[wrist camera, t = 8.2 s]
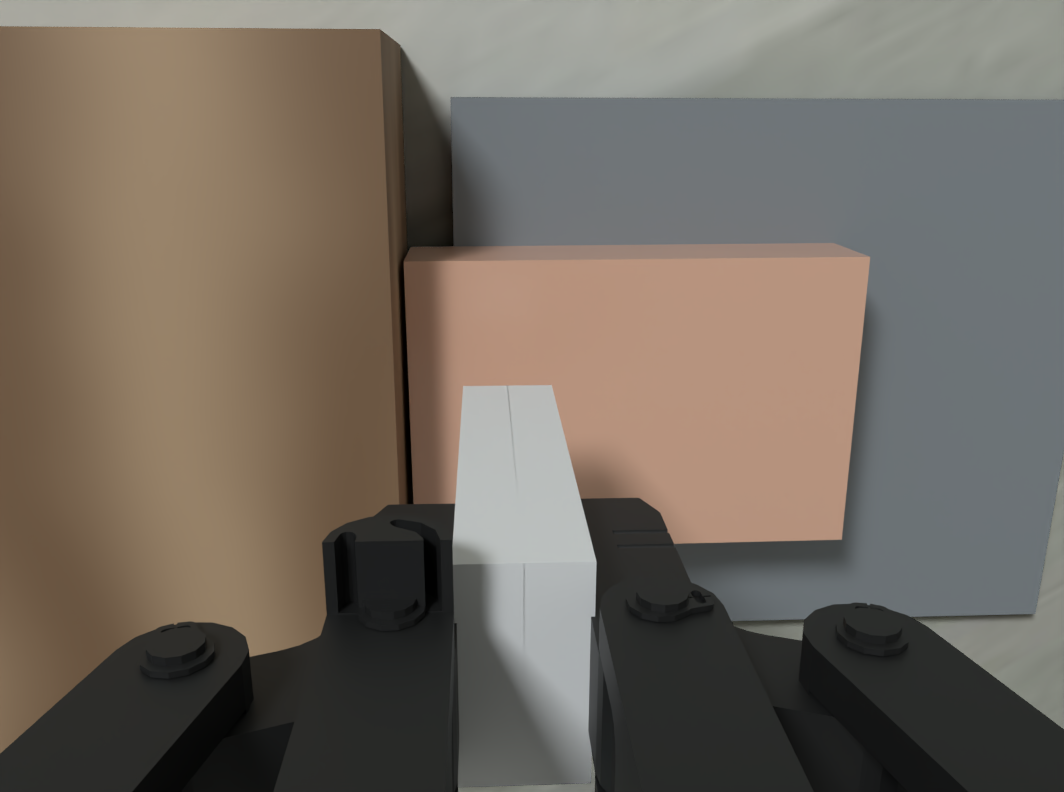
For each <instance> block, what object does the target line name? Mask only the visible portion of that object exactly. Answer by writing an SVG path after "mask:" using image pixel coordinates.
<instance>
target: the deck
mask: <svg viewBox="0 0 1064 792" xmlns="http://www.w3.org/2000/svg"><path fill="white" fill-rule="evenodd" d="M407 254H408V252H407V224H406V195H405V166H404V137H403V108H402V79H401V50H400V45H399V44H398V43H397V42H396V41H394V40H393V39H392V38H390V37H389V36H388V35H387V34H385V33H384V32H383V31H381V30H380V29H267V28H136V27H4V26H0V753H1V752H3V751H4V750H5V749H6V748H7V747H8V746H9V745H10V744H11V743H13V742H14V741H15V740H16V739H17V738H18V737H19V736H20V735H21V734H23V733H24V732H25V731H26V730H27V729H28V728H29V727H30V726H32V725H33V724H34V723H35V722H36V721H37V720H38V719H39V718H40V717H42V716H43V715H44V714H45V713H46V712H47V711H48V710H49V709H51V708H52V707H53V706H54V705H55V704H56V703H57V702H58V701H59V700H61V699H62V698H63V697H64V696H65V695H66V694H67V693H68V692H70V691H71V690H72V689H73V688H74V687H75V686H76V685H77V684H78V683H80V682H81V681H82V680H83V679H84V678H85V677H86V676H87V675H88V674H90V673H91V672H92V671H93V670H94V669H95V668H96V667H97V666H99V665H100V664H101V663H102V662H103V661H104V660H105V659H106V658H107V657H109V656H110V655H111V654H112V653H113V652H114V651H115V650H117V649H118V648H120V647H121V646H123V645H124V644H126V643H127V642H129V641H130V640H132V639H133V638H135V637H137V636H139V635H142V634H145V633H147V632H150V631H153V630H155V629H157V628H158V627H161V626H165V625H169V624H173V623H174V625H176V624H177V623H179V622H188V621H192V622H213V623H217V624H221V625H225V626H229V627H233V628H234V629H236V630H237V631H238V632H240V633H241V634H243V635H244V636H245V637H246V640H247V644H248V648H249V655H250V657H251V656H256V655H261V654H266V653H271V652H276V651H280V650H284V649H288V648H291V647H295V646H299V645H301V644H303V643H306V642H308V641H311V640H313V639H315V638H317V637H319V636H320V635H321V632H322V629H323V625H324V622H325V619H326V615H327V612H326V597H325V582H324V567H323V552H322V542H323V540H324V539H325V538H326V537H327V535H328V534H329V533H330V532H331V531H333V530H335V529H337V528H338V527H340V526H342V525H344V524H346V523H348V522H352V521H356V520H360V519H363V518H367V517H373V516H375V515H376V514H377V513H378V512H380V511H381V510H382V509H383V508H384V507H386V506H387V505H395V504H414V502H413V477H412V453H411V429H410V405H409V381H408V356H407V332H406V308H405V284H404V260H405V258H406V256H407Z"/></svg>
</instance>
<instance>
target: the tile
mask: <svg viewBox="0 0 1064 792" xmlns="http://www.w3.org/2000/svg"><path fill="white" fill-rule="evenodd" d="M869 265H870V257H869V256H867V255H864V254H861V253H859V252H856V251H853V250H851V249H848V248H846V247H843V246H840V245H838V244H835V243H778V244H668V245H558V246H448V247H411V248H410V250H409V252H408V254H407V256H406V258H405V260H404V284H405V308H406V332H407V356H408V381H409V405H410V429H411V453H412V477H413V502H414V504H454V503H455V500H456V485H457V470H458V455H459V440H460V425H461V410H462V395H463V386H513V385H552V388H553V392H554V396H555V400H556V404H557V408H558V412H559V416H560V420H561V424H562V428H563V432H564V435H565V439H566V443H567V447H568V451H569V455H570V459H571V463H572V467H573V471H574V475H575V479H576V483H577V487H578V491H579V495H580V498H581V499H587V498H640V499H642V500H643V501H644V502H646V503H647V504H649V505H650V506H652V507H653V508H655V509H656V510H657V511H659V512H660V513H661V516H662V518H663V520H664V522H665V525H666V527H667V529H668V533H669V534H670V536H671V538H672V540H673V543H674V544H683V543H725V542H766V541H807V540H842V532H843V522H844V512H845V502H846V492H847V482H848V473H849V463H850V453H851V443H852V433H853V423H854V413H855V403H856V393H857V383H858V374H859V364H860V354H861V344H862V334H863V324H864V314H865V304H866V294H867V284H868V275H869Z"/></svg>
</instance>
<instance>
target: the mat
mask: <svg viewBox="0 0 1064 792" xmlns="http://www.w3.org/2000/svg"><path fill="white" fill-rule="evenodd" d="M451 140H452V189H453V238H454V246H558V245H668V244H778V243H835V244H838V245H840V246H843V247H846V248H848V249H851V250H853V251H856V252H859V253H861V254H864V255H867V256H869V257H870V265H869V275H868V284H867V294H866V304H865V314H864V324H863V334H862V344H861V354H860V364H859V374H858V383H857V393H856V403H855V413H854V423H853V433H852V443H851V453H850V463H849V473H848V482H847V492H846V502H845V512H844V522H843V532H842V540H807V541H766V542H725V543H683V544H674V547H676V549H677V552H678V554H679V556H680V559H681V561H682V563H683V565H684V568H685V570H686V572H687V574H688V577H689V579H690V581H691V583H694V584H697V585H699V586H701V587H702V588H704V589H706V590H708V591H710V592H712V593H714V595H715V596H716V597H717V598H718V599H719V600H720V601H721V602H722V604H723V605H724V607H725V609H726V611H727V613H728V615H729V617H730V619H731V621H753V620H796V619H806V618H807V617H808V616H809V615H810V614H811V613H812V612H813V611H814V610H817V609H820V608H823V607H826V606H830V605H833V604H851V603H855V602H857V603H867V605H870V604H875V605H880V606H884V607H886V608H888V609H890V610H893V611H896V612H899V613H902V614H905V615H908V616H909V617H924V616H966V615H1009V614H1035V612H1036V606H1037V601H1038V595H1039V589H1040V584H1041V578H1042V572H1043V566H1044V561H1045V555H1046V549H1047V544H1048V538H1049V532H1050V527H1051V521H1052V515H1053V509H1054V504H1055V498H1056V492H1057V487H1058V481H1059V475H1060V470H1061V464H1062V458H1063V453H1064V100H984V99H739V98H495V97H451Z"/></svg>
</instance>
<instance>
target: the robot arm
mask: <svg viewBox="0 0 1064 792" xmlns="http://www.w3.org/2000/svg"><path fill="white" fill-rule="evenodd" d="M322 552H323V567H324V582H325V597H326V612H327V615H326V619H325V622H324V625H323V629H322V632H321V635H320V636H319V637H317V638H315V639H313V640H311V641H308V642H306V643H303V644H301V645H299V646H295V647H291V648H288V649H284V650H280V651H276V652H271V653H266V654H261V655H256V656H251V657H250V655H249V648H248V644H247V640H246V637H245V636H244V635H243V634H241V633H240V632H238V631H237V630H236V629H234V628H233V627H229V626H225V625H221V624H217V623H213V622H192V621H188V622H179V623H177V624H176V625H174V623H173V624H169V625H165V626H161V627H158V628H157V629H155V630H153V631H150V632H147V633H145V634H142V635H139V636H137V637H135V638H133V639H132V640H130V641H129V642H127V643H126V644H124V645H123V646H121V647H120V648H118V649H117V650H115V651H114V652H113V653H112V654H111V655H110V656H109V657H107V658H106V659H105V660H104V661H103V662H102V663H101V664H100V665H99V666H97V667H96V668H95V669H94V670H93V671H92V672H91V673H90V674H88V675H87V676H86V677H85V678H84V679H83V680H82V681H81V682H80V683H78V684H77V685H76V686H75V687H74V688H73V689H72V690H71V691H70V692H68V693H67V694H66V695H65V696H64V697H63V698H62V699H61V700H59V701H58V702H57V703H56V704H55V705H54V706H53V707H52V708H51V709H49V710H48V711H47V712H46V713H45V714H44V715H43V716H42V717H40V718H39V719H38V720H37V721H36V722H35V723H34V724H33V725H32V726H30V727H29V728H28V729H27V730H26V731H25V732H24V733H23V734H21V735H20V736H19V737H18V738H17V739H16V740H15V741H14V742H13V743H11V744H10V745H9V746H8V747H7V748H6V749H5V750H4V751H3V752H1V753H0V792H458V787H490V786H521V785H553V784H584V783H591V761H592V756H593V762H594V768H595V792H1064V729H1063V728H1061V727H1060V726H1059V725H1057V724H1056V723H1055V722H1053V721H1052V720H1051V719H1049V718H1048V717H1047V716H1045V715H1044V714H1043V713H1041V712H1040V711H1039V710H1037V709H1036V708H1035V707H1033V706H1032V705H1031V704H1029V703H1028V702H1027V701H1025V700H1024V699H1023V698H1021V697H1020V696H1019V695H1017V694H1016V693H1015V692H1013V691H1012V690H1011V689H1009V688H1008V687H1007V686H1005V685H1004V684H1003V683H1001V682H1000V681H999V680H997V679H996V678H995V677H993V676H992V675H991V674H989V673H988V672H987V671H985V670H984V669H983V668H981V667H980V666H979V665H977V664H976V663H975V662H973V661H972V660H971V659H970V658H968V657H967V656H966V655H964V654H963V653H962V652H960V651H959V650H958V649H956V648H955V647H954V646H952V645H951V644H950V643H948V642H947V641H946V640H944V639H943V638H942V637H940V636H939V635H938V634H936V633H935V632H934V631H932V630H931V629H930V628H928V627H927V626H925V625H923V624H922V623H920V622H918V621H916V620H915V619H913V618H911V617H909V616H908V615H905V614H902V613H899V612H896V611H893V610H890V609H888V608H886V607H884V606H880V605H875V604H870V605H867V603H857V602H855V603H851V604H833V605H830V606H826V607H823V608H820V609H817V610H814V611H813V612H812V613H811V614H810V615H809V616H808V617H807V618H806V619H805V620H804V627H803V638H802V641H800V640H794V639H787V638H781V637H774V636H768V635H763V634H758V633H754V632H749V631H746V630H743V629H740V628H737V627H734V625H733V623H732V621H731V619H730V617H729V615H728V613H727V611H726V609H725V607H724V605H723V604H722V602H721V601H720V600H719V599H718V598H717V597H716V596H715V595H714V593H712V592H710V591H708V590H706V589H704V588H702V587H701V586H699V585H697V584H694V583H691V581H690V579H689V577H688V574H687V572H686V570H685V568H684V565H683V563H682V561H681V559H680V556H679V554H678V552H677V549H676V547H674V543H673V540H672V538H671V536H670V534H669V533H668V529H667V527H666V525H665V522H664V520H663V518H662V516H661V513H660V512H659V511H657V510H656V509H655V508H653V507H652V506H650V505H649V504H647V503H646V502H644V501H643V500H642V499H640V498H587V499H581V498H580V495H579V491H578V487H577V483H576V479H575V475H574V471H573V467H572V463H571V459H570V455H569V451H568V447H567V443H566V439H565V435H564V432H563V428H562V424H561V420H560V416H559V412H558V408H557V404H556V400H555V396H554V392H553V388H552V385H513V386H463V395H462V410H461V425H460V440H459V455H458V470H457V485H456V500H455V503H454V504H395V505H387V506H386V507H384V508H383V509H382V510H381V511H380V512H378V513H377V514H376V515H375V516H373V517H367V518H363V519H360V520H356V521H352V522H348V523H346V524H344V525H342V526H340V527H338V528H337V529H335V530H333V531H331V532H330V533H329V534H328V535H327V537H326V538H325V539H324V540H323V542H322Z"/></svg>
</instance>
